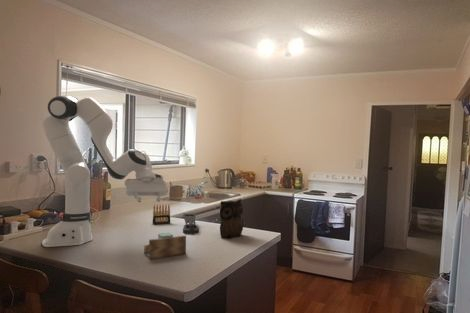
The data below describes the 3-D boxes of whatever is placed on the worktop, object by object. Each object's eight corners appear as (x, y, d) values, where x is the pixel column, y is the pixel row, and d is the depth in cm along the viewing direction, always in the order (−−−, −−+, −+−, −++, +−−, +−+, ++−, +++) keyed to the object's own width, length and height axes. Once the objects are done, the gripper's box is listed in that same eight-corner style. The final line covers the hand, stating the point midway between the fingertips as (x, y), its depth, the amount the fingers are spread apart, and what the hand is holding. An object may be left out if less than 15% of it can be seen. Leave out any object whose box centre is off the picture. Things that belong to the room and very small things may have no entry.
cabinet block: (161, 254, 148) (161, 236, 148) (157, 251, 153) (157, 233, 153) (172, 253, 151) (172, 235, 150) (168, 249, 155) (168, 232, 155)
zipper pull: (196, 213, 213) (199, 222, 188) (196, 223, 213) (199, 233, 188) (182, 213, 211) (183, 222, 186) (181, 224, 211) (183, 234, 187)
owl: (244, 234, 188) (244, 198, 187) (238, 240, 176) (239, 201, 175) (222, 232, 191) (222, 197, 191) (215, 238, 179) (215, 200, 178)
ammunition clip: (152, 224, 209) (152, 204, 209) (152, 223, 211) (152, 204, 211) (170, 223, 213) (170, 204, 212) (169, 222, 214) (170, 203, 214)
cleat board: (150, 259, 144) (150, 240, 144) (144, 253, 152) (144, 235, 152) (185, 254, 152) (186, 236, 152) (178, 248, 160) (178, 231, 160)
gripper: (125, 174, 167) (128, 197, 158) (166, 175, 177) (170, 197, 168) (122, 182, 171) (125, 205, 162) (162, 183, 181) (167, 205, 172)
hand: (149, 201), depth 165 cm, fingers open, 8 cm apart
